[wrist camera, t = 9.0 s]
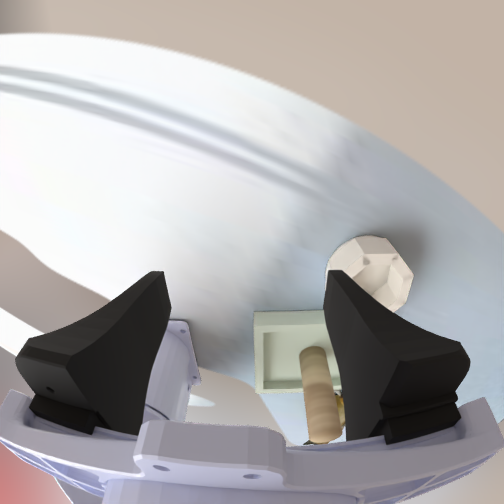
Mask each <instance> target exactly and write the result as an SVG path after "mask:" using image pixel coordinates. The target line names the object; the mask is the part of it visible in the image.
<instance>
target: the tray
mask: <svg viewBox="0 0 504 504" xmlns="http://www.w3.org/2000/svg"><path fill="white" fill-rule="evenodd" d="M311 346H319V347H321V348H323V349H324V350H325V353H326V357H327V361H328V366H329V370H330V375H331V379H332V384H333V389H334V390H340V389H342V387H341V381H340V374H339V370H338V365H337V362H336V358H335V355H334V351H333V348H332V345H331V341H330V338H329V334H328V331H327V328H326V322H325V316H324V310H313V311H273V312H254V358H255V390H256V394H267V393H299V392H303V384H302V377H301V369H300V362H299V354H300V352H301V351H302V350H304V349H305V348H307V347H311Z"/></svg>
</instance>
